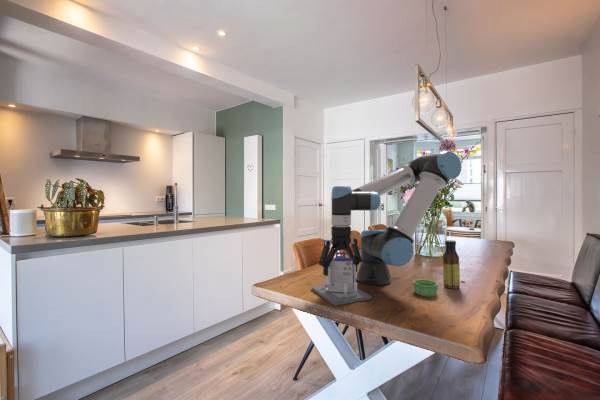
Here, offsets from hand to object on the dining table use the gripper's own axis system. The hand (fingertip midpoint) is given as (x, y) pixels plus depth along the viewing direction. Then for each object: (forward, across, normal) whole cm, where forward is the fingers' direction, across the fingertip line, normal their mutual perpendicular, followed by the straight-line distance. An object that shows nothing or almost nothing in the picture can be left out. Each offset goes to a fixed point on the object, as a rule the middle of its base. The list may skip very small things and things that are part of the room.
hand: (340, 282), depth 111 cm
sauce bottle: (+5, +48, -11) cm, 49 cm away
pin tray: (+5, 0, 0) cm, 5 cm away
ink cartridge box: (+3, 0, 0) cm, 3 cm away
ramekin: (+5, +32, -12) cm, 34 cm away
